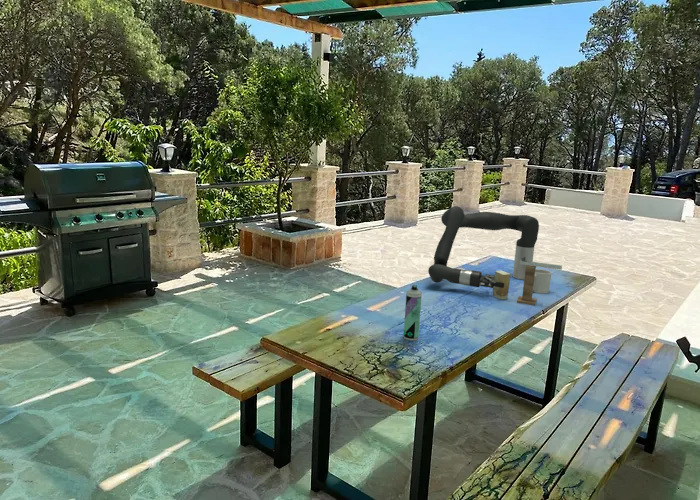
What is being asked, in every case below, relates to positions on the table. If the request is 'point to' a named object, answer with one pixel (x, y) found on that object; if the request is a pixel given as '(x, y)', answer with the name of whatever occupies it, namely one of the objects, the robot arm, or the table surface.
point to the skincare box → (503, 278)
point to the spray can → (412, 314)
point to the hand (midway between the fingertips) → (505, 283)
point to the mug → (542, 281)
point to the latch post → (528, 287)
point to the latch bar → (539, 264)
